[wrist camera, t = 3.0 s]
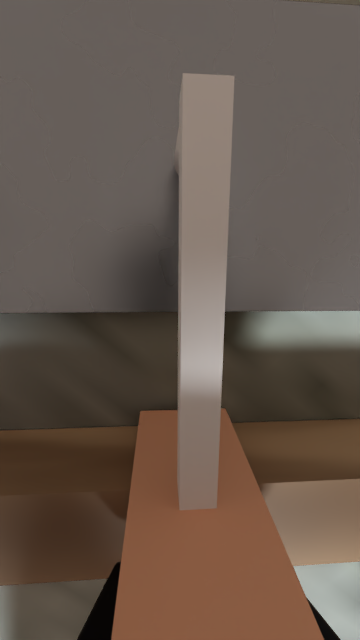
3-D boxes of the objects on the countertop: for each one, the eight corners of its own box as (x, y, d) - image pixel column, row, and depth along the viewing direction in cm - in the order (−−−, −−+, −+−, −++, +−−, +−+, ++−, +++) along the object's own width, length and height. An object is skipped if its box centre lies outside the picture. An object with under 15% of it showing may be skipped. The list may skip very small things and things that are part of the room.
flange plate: (454, 304, 11) (486, 309, 10) (-138, 307, 9) (-176, 314, 8) (510, 44, 9) (557, 16, 8) (-210, 1, 7) (-269, -40, 6)
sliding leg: (220, 520, 11) (304, 892, 5) (143, 524, 11) (118, 921, 4) (236, 161, 9) (500, -162, 2) (133, 158, 8) (31, -215, 2)
